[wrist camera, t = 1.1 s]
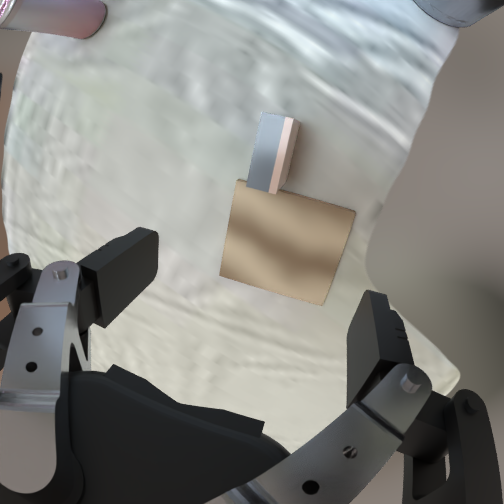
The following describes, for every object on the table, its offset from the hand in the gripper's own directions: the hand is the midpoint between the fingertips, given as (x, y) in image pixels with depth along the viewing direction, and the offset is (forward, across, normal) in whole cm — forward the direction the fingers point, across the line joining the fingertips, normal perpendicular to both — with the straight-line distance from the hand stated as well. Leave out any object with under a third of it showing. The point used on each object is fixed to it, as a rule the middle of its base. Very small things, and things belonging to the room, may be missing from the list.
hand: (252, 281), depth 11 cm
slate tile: (+20, +2, -3) cm, 20 cm away
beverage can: (+20, +30, -18) cm, 40 cm away
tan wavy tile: (+19, 0, +7) cm, 20 cm away
